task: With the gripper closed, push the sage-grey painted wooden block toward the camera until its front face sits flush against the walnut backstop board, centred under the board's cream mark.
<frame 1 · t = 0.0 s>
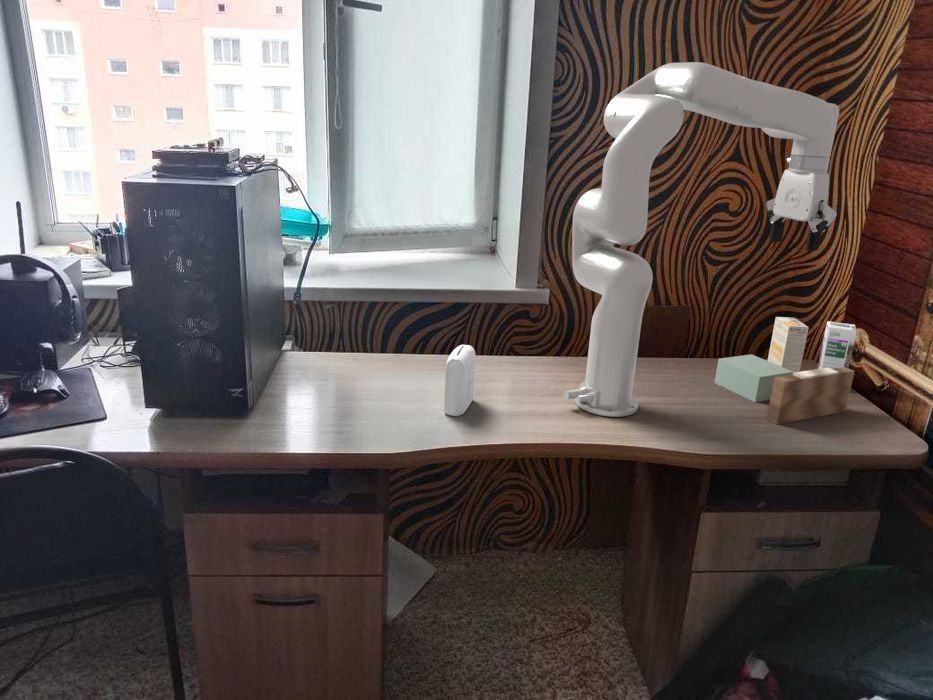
hand: (792, 245, 161), 31 cm above the table, fingers open, 9 cm apart
syrup box: (828, 386, 170), on the table
sage block: (750, 390, 165), on the table
supplement box: (781, 375, 176), on the table
walnut backstop: (806, 415, 152), on the table
photo printer: (458, 407, 147), on the table
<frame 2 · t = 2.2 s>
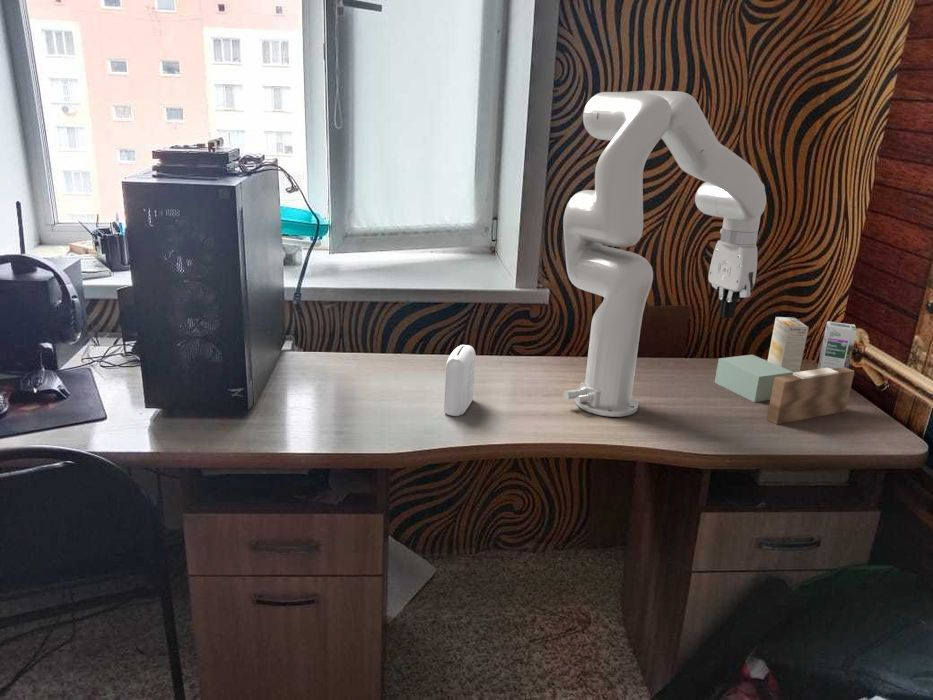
hand: (726, 317, 170), 13 cm above the table, fingers closed
nothing on the table moved.
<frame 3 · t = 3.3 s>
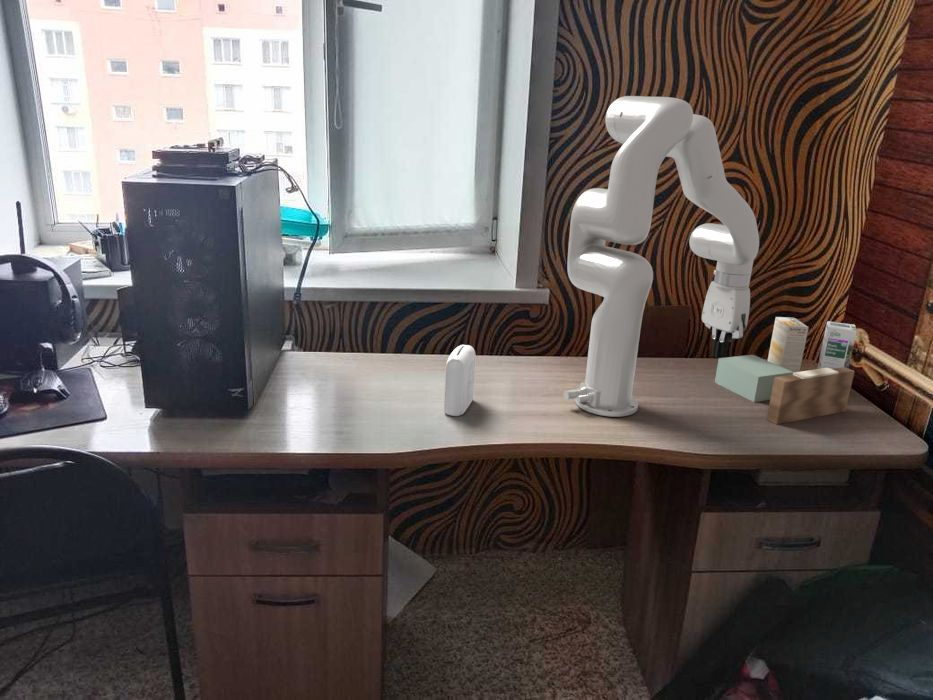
hand: (718, 356, 173), 4 cm above the table, fingers closed
nothing on the table moved.
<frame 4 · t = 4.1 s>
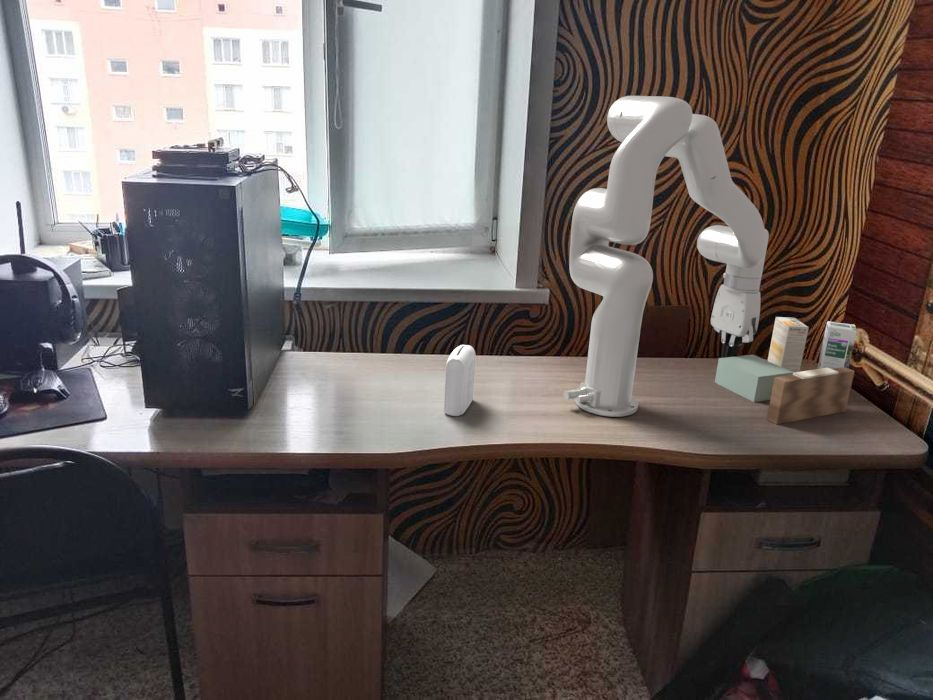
hand: (728, 360, 170), 4 cm above the table, fingers closed
sage block: (750, 390, 165), on the table, touching gripper
everything else where it was.
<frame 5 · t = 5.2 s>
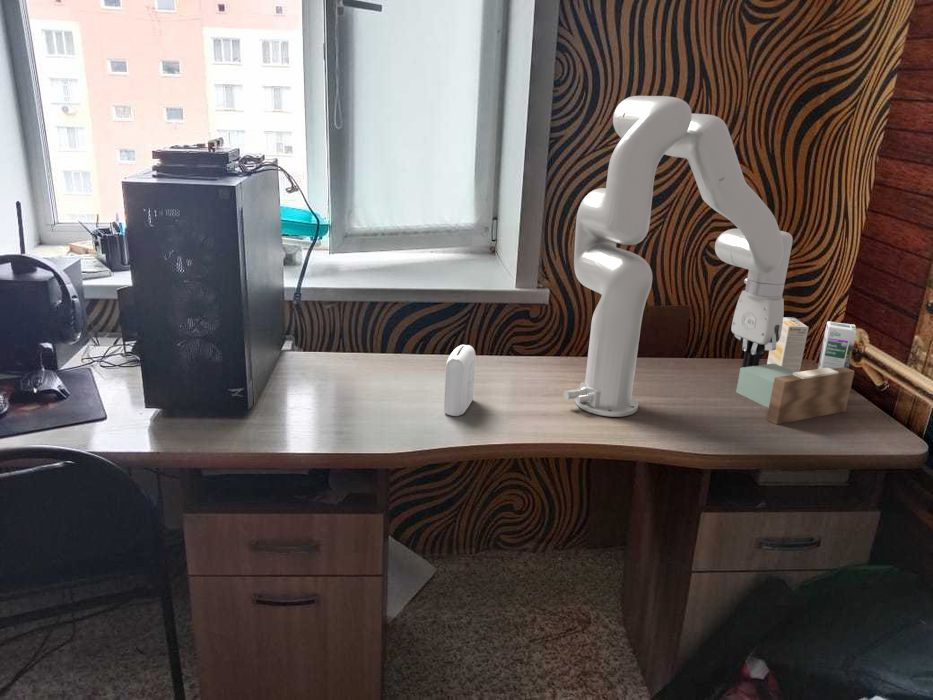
hand: (749, 369, 165), 4 cm above the table, fingers closed
sage block: (773, 400, 160), on the table, touching gripper
everything else where it was.
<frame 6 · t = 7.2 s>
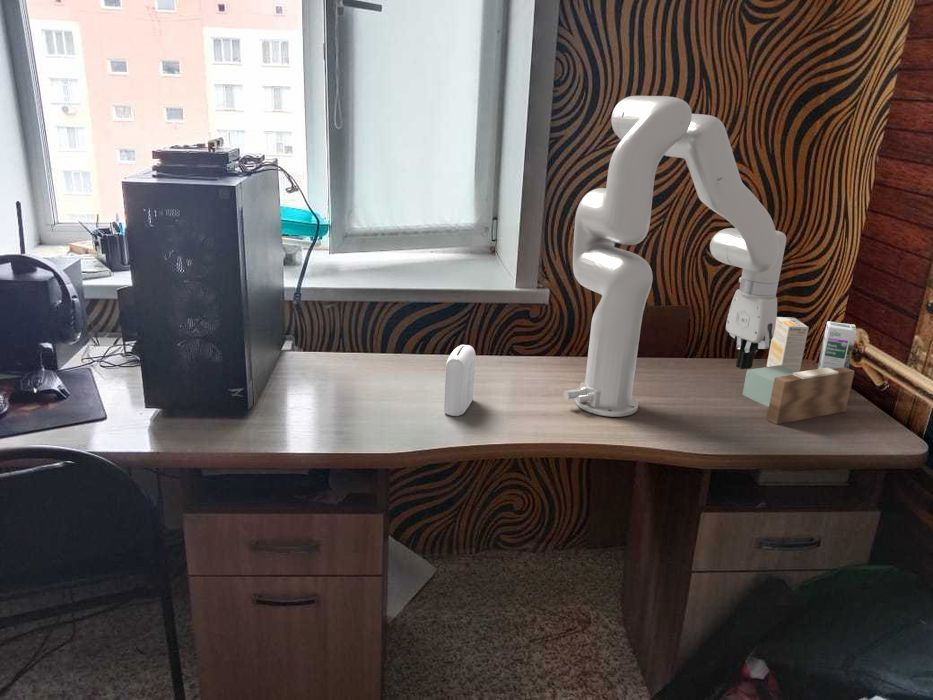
hand: (743, 367, 166), 4 cm above the table, fingers closed
sage block: (780, 403, 159), on the table
everything else where it was.
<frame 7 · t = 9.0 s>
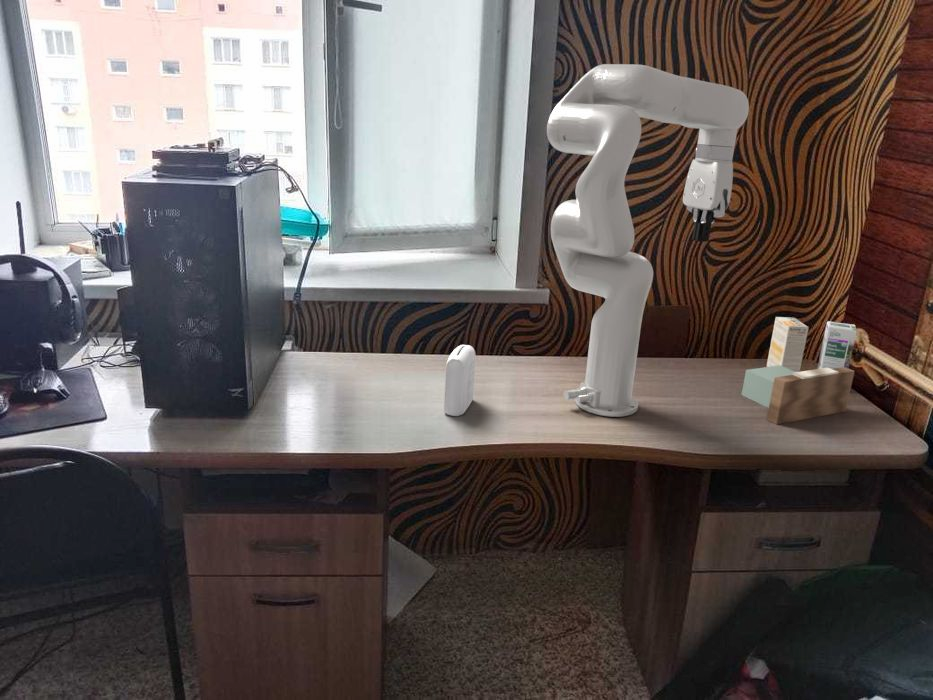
hand: (700, 240, 163), 31 cm above the table, fingers closed
nothing on the table moved.
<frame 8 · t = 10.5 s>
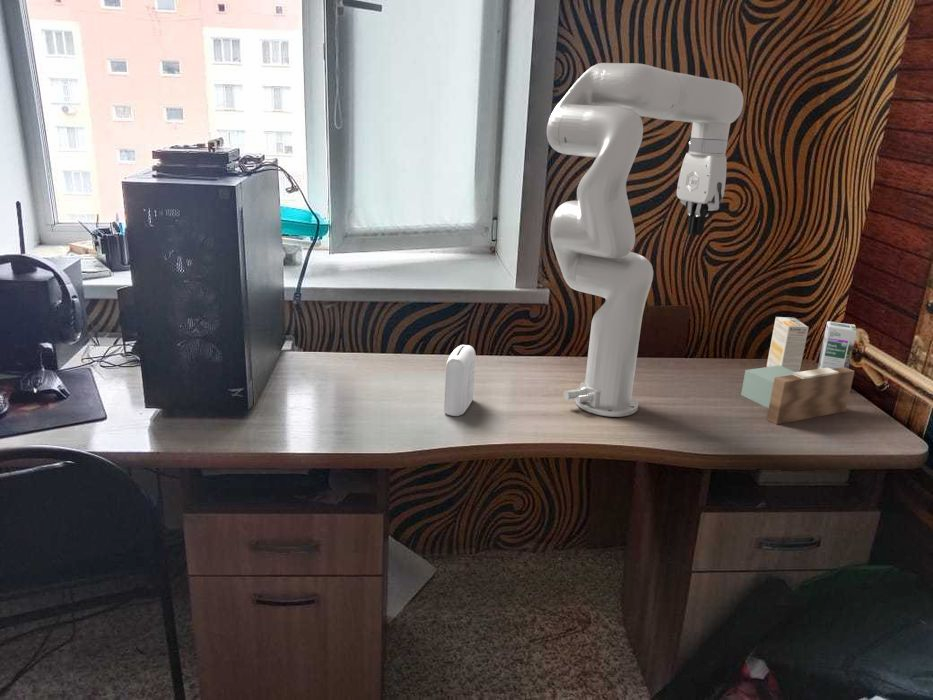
hand: (694, 234, 163), 32 cm above the table, fingers closed
nothing on the table moved.
at the end: sage block 0.3 cm from the target spot on the table beside the walnut backstop, on the table; sage block tilted 0°; sage block moved 7.7 cm from its start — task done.
